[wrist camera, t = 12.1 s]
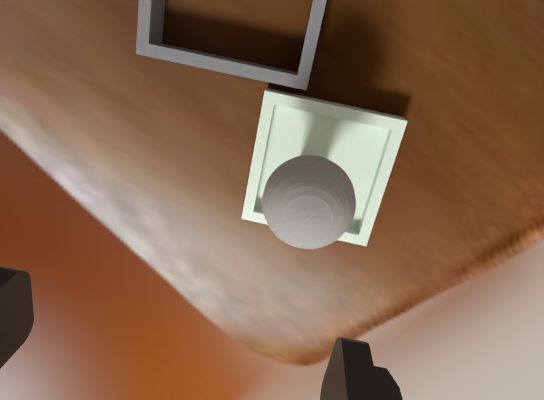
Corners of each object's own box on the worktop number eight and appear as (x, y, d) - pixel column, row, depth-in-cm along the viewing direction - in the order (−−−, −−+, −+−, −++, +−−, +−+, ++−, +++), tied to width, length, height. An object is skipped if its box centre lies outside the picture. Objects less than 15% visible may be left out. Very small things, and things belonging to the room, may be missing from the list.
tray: (244, 210, 33) (241, 218, 31) (267, 87, 29) (264, 90, 27) (363, 236, 32) (366, 246, 31) (402, 116, 28) (407, 121, 27)
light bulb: (349, 131, 29) (365, 174, 19) (343, 201, 31) (355, 270, 21) (275, 129, 29) (256, 169, 20) (274, 197, 31) (255, 263, 22)
